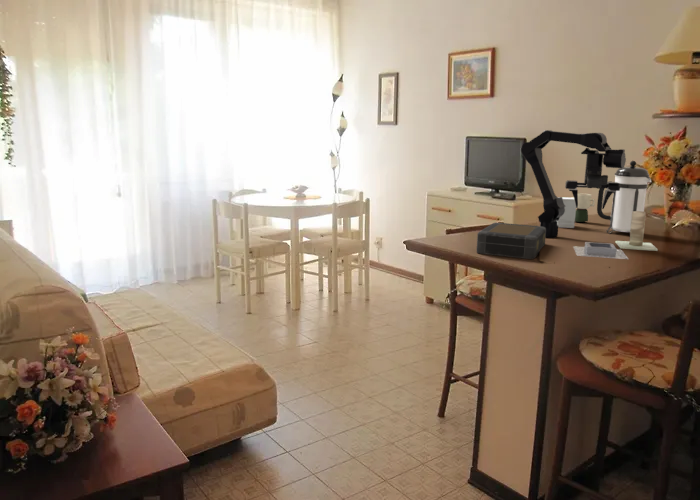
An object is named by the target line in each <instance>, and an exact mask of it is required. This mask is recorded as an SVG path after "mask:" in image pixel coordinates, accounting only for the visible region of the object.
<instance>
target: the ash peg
mask: <svg viewBox="0 0 700 500" xmlns="http://www.w3.org/2000/svg"><path fill="white" fill-rule="evenodd" d="M646 216H647V212H646V211H644V212H642V211H632V220H631V230H630V234H629V240H628V241H629V245H633V246H642V245H643V242H644V235H645V234H644V233H645V223H646Z"/></svg>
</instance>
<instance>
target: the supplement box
mask: <svg viewBox="0 0 700 500" xmlns="http://www.w3.org/2000/svg"><path fill="white" fill-rule="evenodd" d="M557 197H558V198H560V197H562V196H560V197H559V196H557ZM562 199H563V203H564V205H565V206H566V207H564V208H565V212H564V214H563V215H562V216H561V217H560V218H559V220H558V221H557V225H558V228H564V229H567V228H568V229H574V228H575V223H576V221H575V214H576V209H577V208H576V204H575V200H574V198H571V197H567V196H566V197H565V196H564V197H562Z"/></svg>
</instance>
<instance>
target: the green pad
mask: <svg viewBox="0 0 700 500" xmlns="http://www.w3.org/2000/svg"><path fill="white" fill-rule="evenodd" d="M629 241H630V240H627V241H626V240H624V241H623V240H615V244H616V245H617V246H618V248H619V249H621V250H622V249H624V250H625V249H626V250H638V251H653V252H654V251H656V252H658V248H657V247H656V246H655V245H653V243H652V242H644V241H643V245H642V246H633V245H629Z"/></svg>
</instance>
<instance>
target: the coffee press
mask: <svg viewBox="0 0 700 500" xmlns="http://www.w3.org/2000/svg"><path fill="white" fill-rule="evenodd" d="M629 164H630V166H624V168H617V170H616V171H615V172H614V176H615V177H614V182H618V183H619V184H620V191H615V193H612V194H613V195H612V205H611V213H610V215H606V214H604V213H603V209H602V204H603V199H604V194H605V190H606V188H600V189H598V194H597V202H596V213H597V216H599V217H600V218H601V219H603V220H607V221H609V222H610V224H609V227H608V228H607V229H606V233H607V234H612V233H613V232H622V233H628V235H630V230H631V220H632V211H642V212H645V205H646V197H647V189H648V186H649V184H648V183H652V179H651V177H650V173H649V171H648V170H647V169H646V168H644V167H637V166H636V165H637V162H636V161H635V160H632V161H630V163H629ZM608 182H613V181H608ZM610 230H611V231H610Z"/></svg>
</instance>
